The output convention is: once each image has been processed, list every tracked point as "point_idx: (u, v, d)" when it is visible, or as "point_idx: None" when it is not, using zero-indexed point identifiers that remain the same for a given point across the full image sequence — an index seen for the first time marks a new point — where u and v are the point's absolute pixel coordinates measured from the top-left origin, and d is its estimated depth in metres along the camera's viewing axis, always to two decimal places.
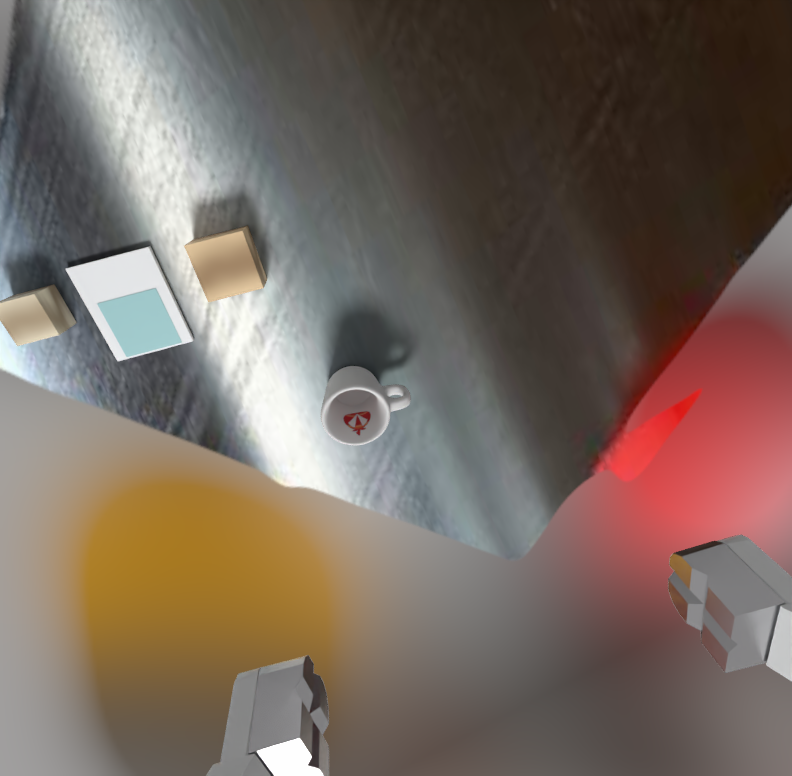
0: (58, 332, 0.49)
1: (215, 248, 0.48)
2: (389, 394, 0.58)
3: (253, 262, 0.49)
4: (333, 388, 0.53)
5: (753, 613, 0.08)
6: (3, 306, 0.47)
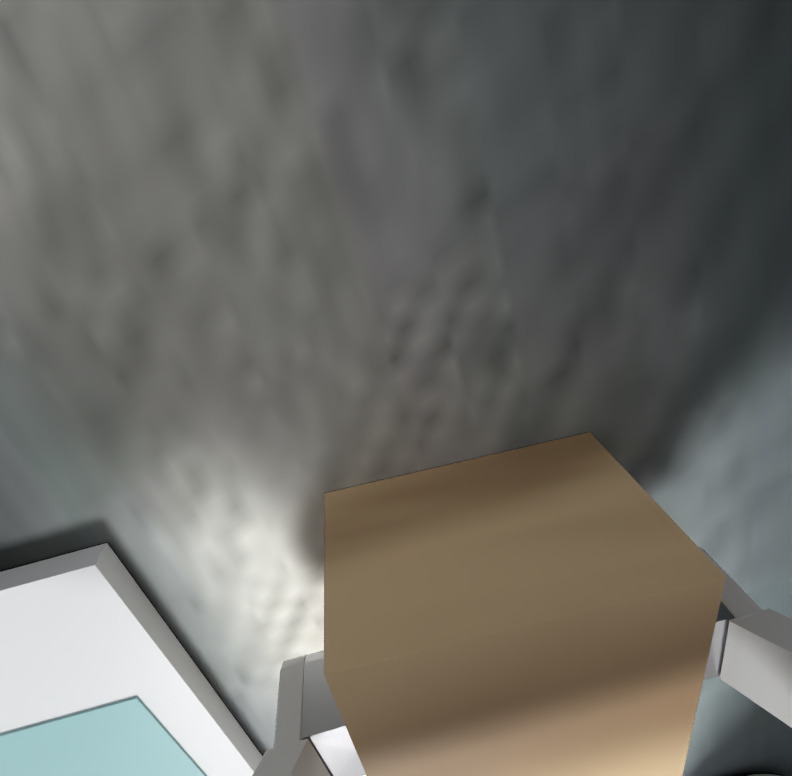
0: None
1: (519, 668, 0.07)
2: None
3: (692, 697, 0.08)
4: None
5: None
6: None
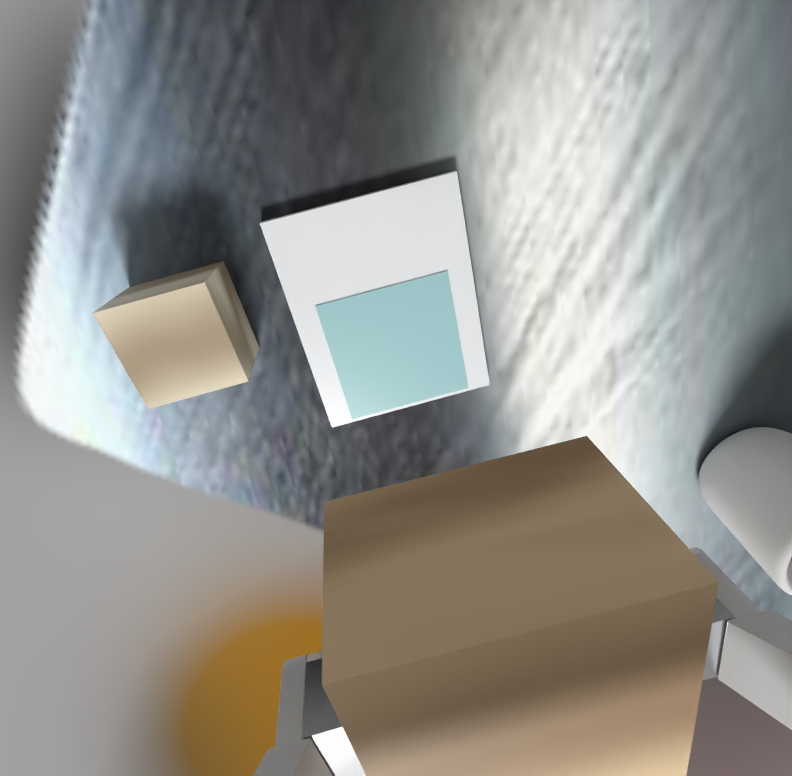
0: (246, 375, 0.20)
1: (515, 675, 0.07)
2: None
3: (692, 701, 0.08)
4: None
5: None
6: (125, 314, 0.18)
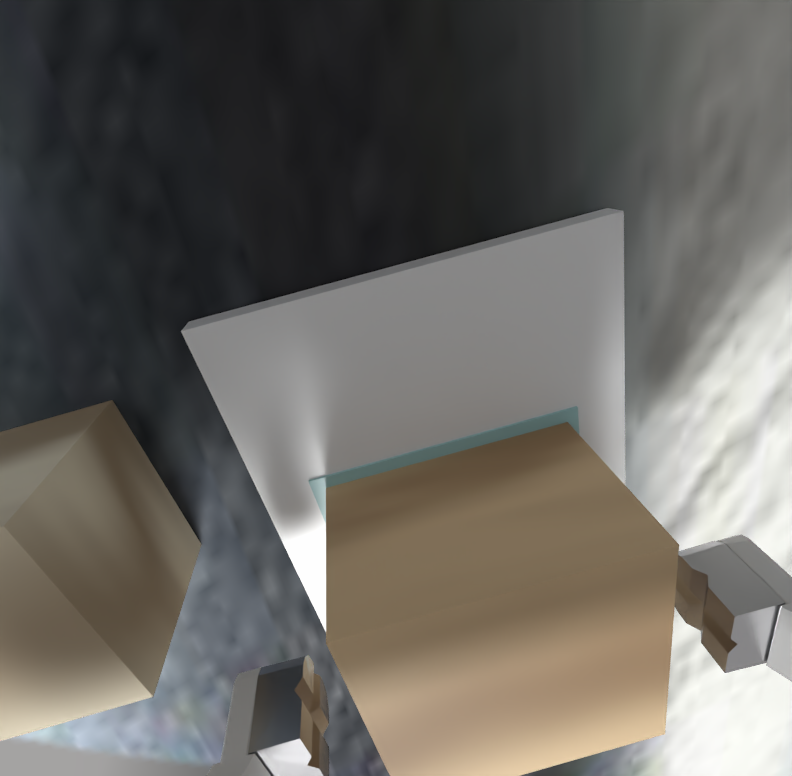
0: (148, 683, 0.09)
1: (500, 634, 0.08)
2: None
3: (664, 659, 0.09)
4: None
5: (753, 613, 0.08)
6: None
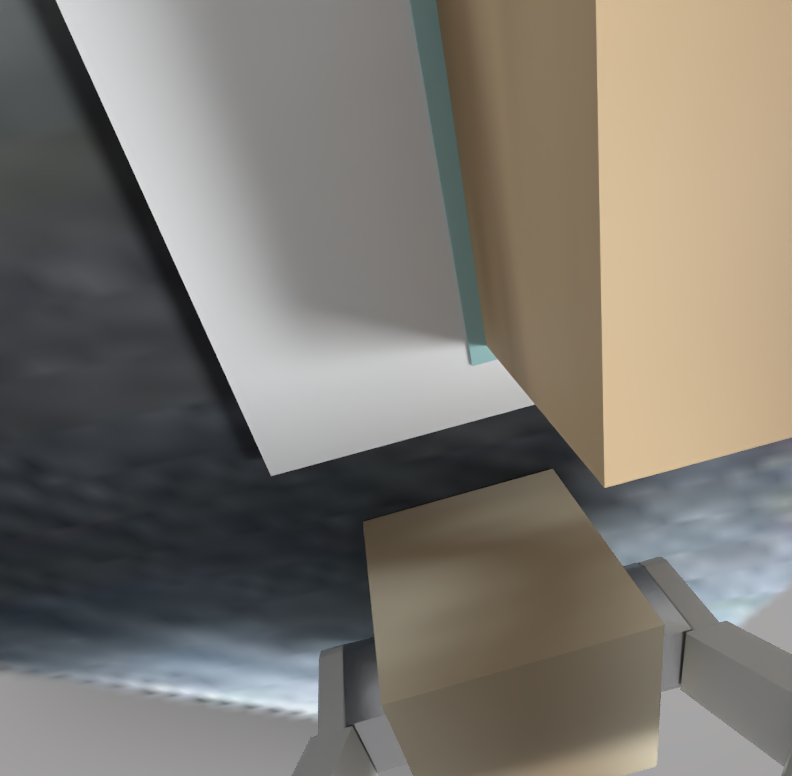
0: (644, 622, 0.07)
1: (725, 168, 0.04)
2: None
3: None
4: None
5: None
6: None
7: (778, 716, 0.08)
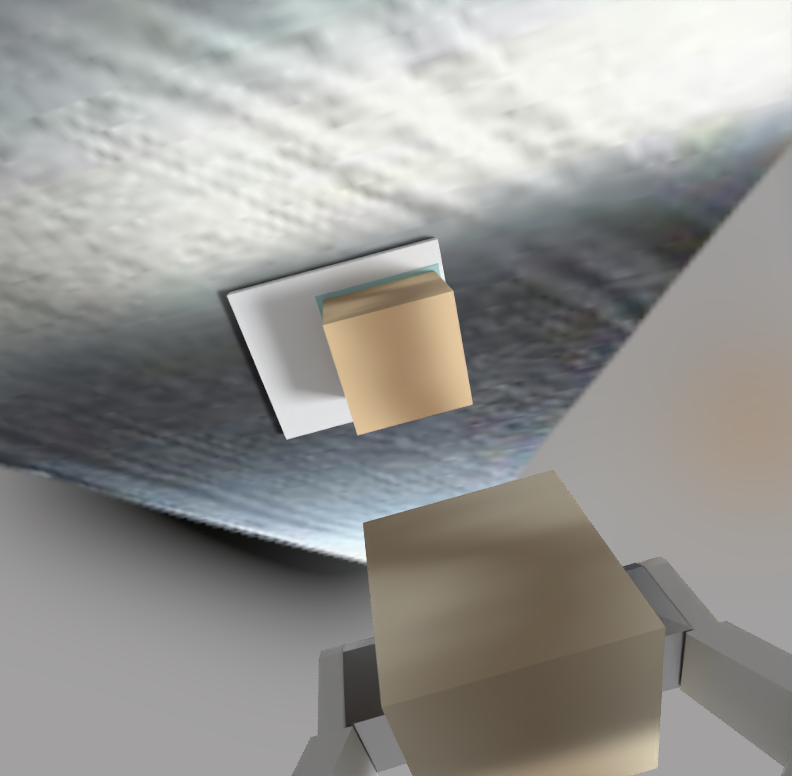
0: (645, 624, 0.07)
1: (362, 381, 0.22)
2: None
3: (393, 307, 0.21)
4: None
5: None
6: None
7: (778, 716, 0.08)
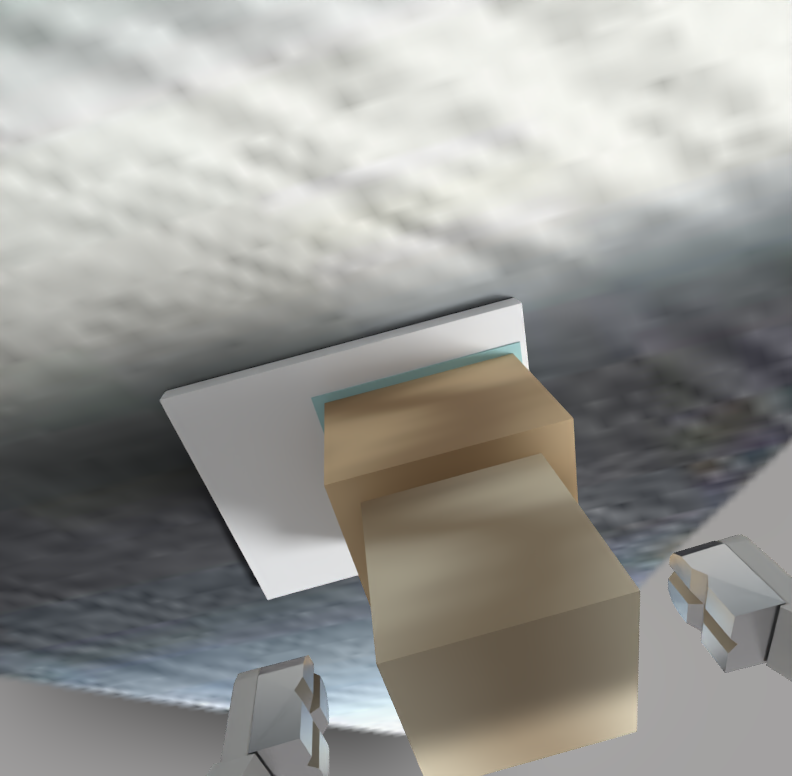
0: (622, 589, 0.08)
1: None
2: None
3: (458, 450, 0.11)
4: None
5: (753, 613, 0.08)
6: (437, 759, 0.09)
7: None
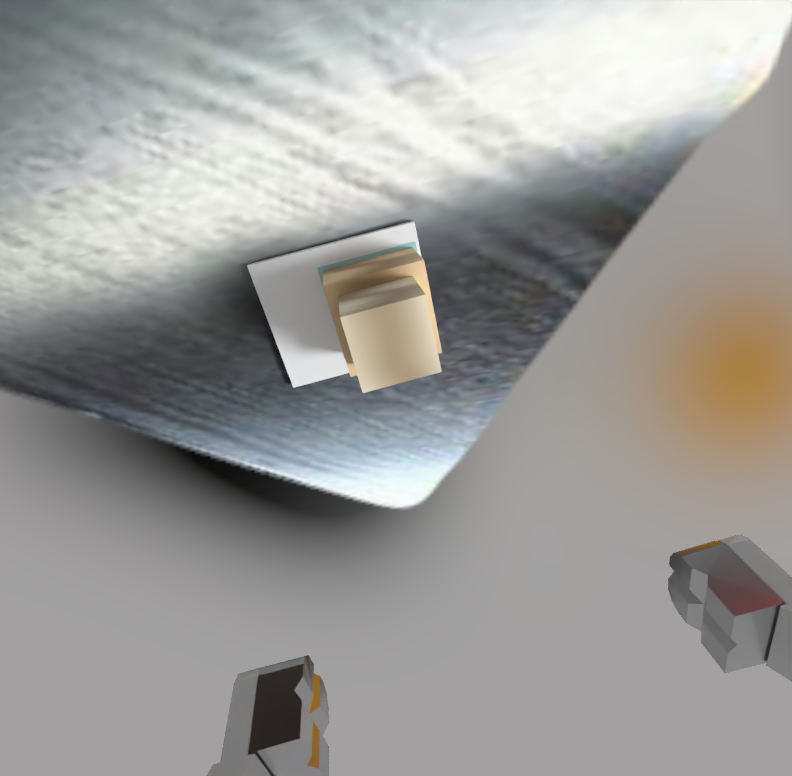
0: (420, 295, 0.24)
1: None
2: None
3: (377, 272, 0.27)
4: None
5: (753, 613, 0.08)
6: (364, 374, 0.25)
7: None
